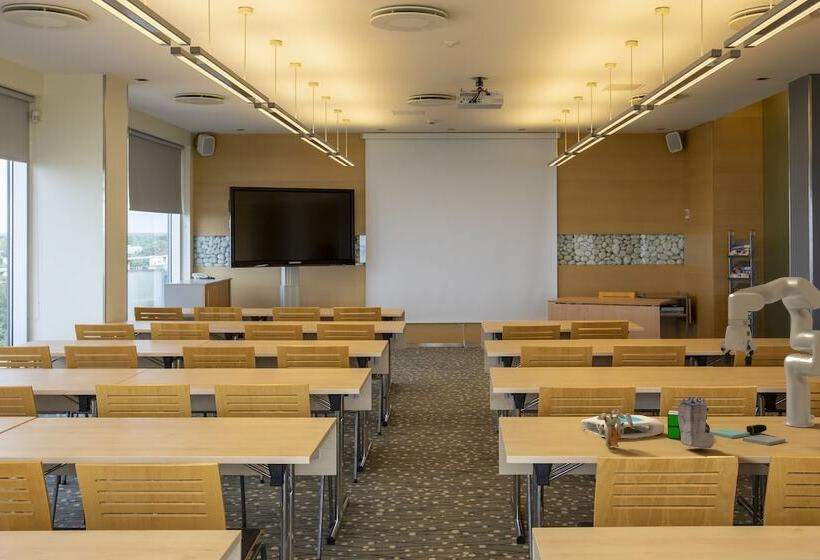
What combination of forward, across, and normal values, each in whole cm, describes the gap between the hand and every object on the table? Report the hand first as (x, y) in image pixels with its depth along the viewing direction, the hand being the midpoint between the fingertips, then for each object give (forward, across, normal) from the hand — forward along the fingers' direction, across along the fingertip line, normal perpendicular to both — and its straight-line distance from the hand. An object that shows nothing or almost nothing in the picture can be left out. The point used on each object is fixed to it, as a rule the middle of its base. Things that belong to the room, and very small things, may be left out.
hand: (737, 364), depth 333 cm
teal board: (+30, +5, -2) cm, 31 cm away
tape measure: (+30, -3, -14) cm, 33 cm away
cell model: (+31, -4, +31) cm, 44 cm away
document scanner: (+31, +33, +32) cm, 56 cm away
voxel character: (+31, +14, +57) cm, 66 cm away
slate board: (+30, -11, -2) cm, 32 cm away
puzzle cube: (+31, +14, +18) cm, 38 cm away
